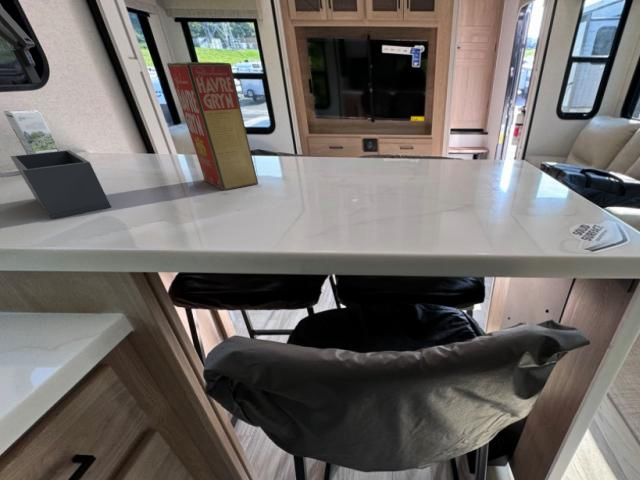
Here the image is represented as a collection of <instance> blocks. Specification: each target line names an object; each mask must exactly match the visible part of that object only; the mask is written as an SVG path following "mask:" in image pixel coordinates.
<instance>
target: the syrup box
mask: <svg viewBox="0 0 640 480" xmlns="http://www.w3.org/2000/svg"><path fill="white" fill-rule="evenodd" d="M3 114H4V116H5V118H6V119H7V121H8V123H9V125H10V127H11V128H12V130H13V132H14V133H15V135H16V137H17V139H18V141H19V142H20V144H21V146H22V148H23V150H24V152H25V153H26V155H27V154H36V153H46V152H55V151H61V150H60V148H59V146H58V144H57V142H56V140H55V138H54V137H53V134H52V132H51V130H50V128H49V126H48V124H47V122H46V120H45V119H44V116H43V114H42V113H41V112H40V111H39V110H36V109H20V110H19V109H18V110H3Z"/></svg>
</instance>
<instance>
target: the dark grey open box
mask: <svg viewBox="0 0 640 480" xmlns="http://www.w3.org/2000/svg"><path fill="white" fill-rule="evenodd" d="M10 158H11V161H12V162H13V164H14V165H15V167H16V169H17V170H18V171H19V173H20V175H21V177H22V179H23V180H24V181H25V184H26V185H27V187H28V188H29V190H30V192H31V193H32V195H33V197H34V198H35V200H36V201H37V202H38V204H39V205H40V207H41V208H42V209H43V210H44V212H45V213H47V215H48V217H49V218H50V219H51V220H56V219H60V218H65V217H69V216H75V215H80V214H84V213H89V212H94V211H100V210H104V209H110V208H112V205H111V203H110V201H109V199H108V198H107V195H106V192H105V190H104V189H103V187H102V184H101V183H100V181H99V179H98V177H97V174H96V172H95V170H94V168H93V166H92V164H91V162H90V161H88V160H87V159H85V158H84V157H82V156H80V155H79V154H77V153H75V152H74V151H72V150H70V149H67V150H60V151H55V152H46V153H36V154H27V153H26V154H17V155H10Z"/></svg>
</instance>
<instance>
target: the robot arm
mask: <svg viewBox="0 0 640 480" xmlns="http://www.w3.org/2000/svg"><path fill="white" fill-rule="evenodd" d="M0 37H1V38H2V39H4V40H5V41H6V42H7V43H8V44H10V46H12V47H13V49H12V52H13V54H14V56H15V58H16V60H17V63H18V64H19V65H20V68H21V70H22V72H23V73H24V75H25V78H26V79H27V81H28V83H29V84H39V83H40V84H41V83H42V80H41V79H40V77H39V74H38V73H37V71H36V68H35V67H36V63H35V61H34V59H33V57H32V54H31V52H30V49H31V48H34V47H36V45H35V42H34V41H33V39H32V38H30V36H29V35H28V34H27V33H26V32H25V30H24V29H22V27H21V26H20V25H19V24H18V23H17V22H16V21H15V20H14V19H13V18H12V16H11V15H10V14H9V13H8V12H7V11H6V10H5V9H4V7H3V6H2V4H1V3H0Z"/></svg>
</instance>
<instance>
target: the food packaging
mask: <svg viewBox="0 0 640 480" xmlns="http://www.w3.org/2000/svg"><path fill="white" fill-rule="evenodd" d="M166 66H167V68H168V71H169V74H170V77H171V81H172V84H173V88H174V90H175V93H176V96H177V99H178V103H179V105H180V108H181V111H182V114H183V118H184V120H185V123H186V126H187V129H188V133H189V135H190V138H191V142H192V145H193V148H194V150H195V153H196V157H197V160H198V163H199V167H200V170H201V174H202V176H203V181H205V182H207V183H209V184H210V185H212V186H214V187H217V188H218V189H219V190H222V191H225V192H226V191H229V190H235V189H239V188H240V189H241V188H246V187H250V186H254V185H259V180H258V176H257V172H256V168H255V164H254V160H253V156H252V152H251V151H252V150H251V147H250V143H249V139H248V138H249V137H248V134H247V129H246V126H245V122H244V121H245V120H244V118H243V117H244V116H243V114H242V108H241V104H240V100H239V94H238V90H237V86H236V82H235V77H234V74H233V69H232V68H233V67H232V64H231V63H230V62H220V61H219V62H218V61H215V62H212V61H211V62H210V61H206V62H205V61H203V62H202V61H193V62H192V61H187V62H182V61H181V62H167V63H166Z"/></svg>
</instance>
